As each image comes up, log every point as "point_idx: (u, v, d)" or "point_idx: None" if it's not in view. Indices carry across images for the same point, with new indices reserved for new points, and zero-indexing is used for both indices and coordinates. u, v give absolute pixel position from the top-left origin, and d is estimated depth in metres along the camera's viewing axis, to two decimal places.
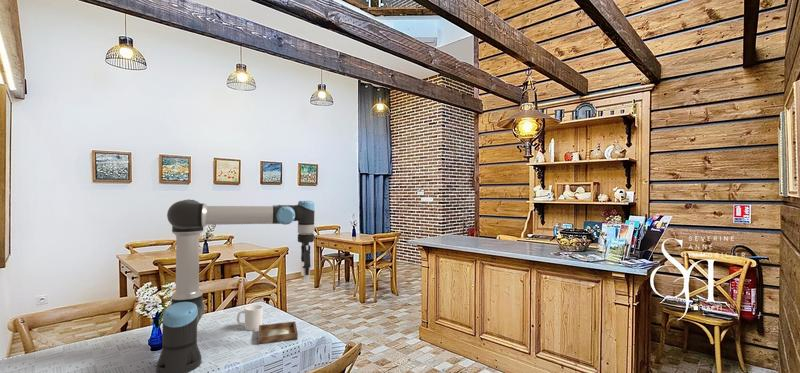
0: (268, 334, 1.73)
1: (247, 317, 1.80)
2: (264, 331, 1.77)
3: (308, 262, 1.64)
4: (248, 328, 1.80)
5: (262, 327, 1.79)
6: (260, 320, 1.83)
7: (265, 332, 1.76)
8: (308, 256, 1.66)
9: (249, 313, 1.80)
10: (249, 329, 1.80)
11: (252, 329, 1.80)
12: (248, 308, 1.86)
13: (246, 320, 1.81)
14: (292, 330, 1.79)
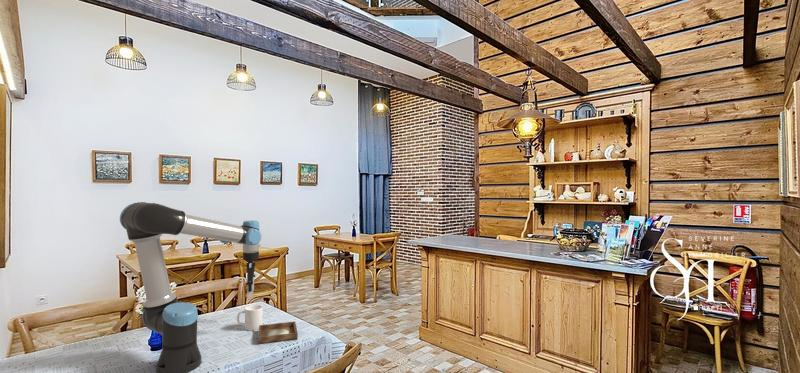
0: (268, 334, 1.73)
1: (247, 317, 1.80)
2: (264, 331, 1.77)
3: (250, 279, 1.75)
4: (248, 328, 1.80)
5: (262, 327, 1.79)
6: (260, 320, 1.83)
7: (265, 332, 1.76)
8: (251, 274, 1.76)
9: (249, 313, 1.80)
10: (249, 329, 1.80)
11: (252, 329, 1.80)
12: (248, 308, 1.86)
13: (246, 320, 1.81)
14: (292, 330, 1.79)
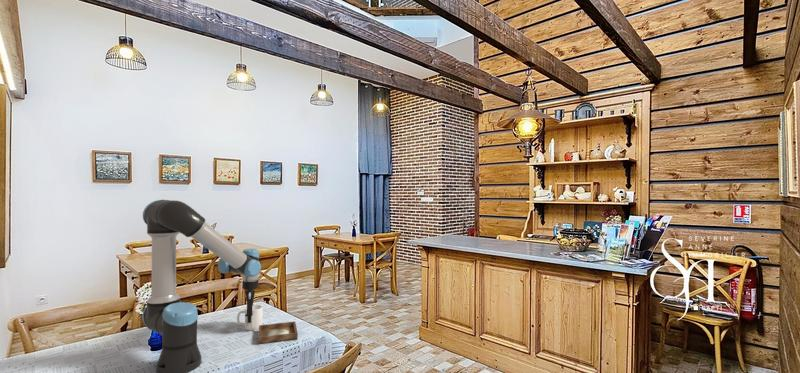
0: (268, 334, 1.73)
1: None
2: (264, 331, 1.77)
3: (250, 311, 1.77)
4: None
5: (262, 327, 1.79)
6: (260, 320, 1.83)
7: (265, 332, 1.76)
8: (250, 305, 1.77)
9: None
10: (249, 329, 1.80)
11: (252, 329, 1.80)
12: None
13: (246, 320, 1.81)
14: (292, 330, 1.79)
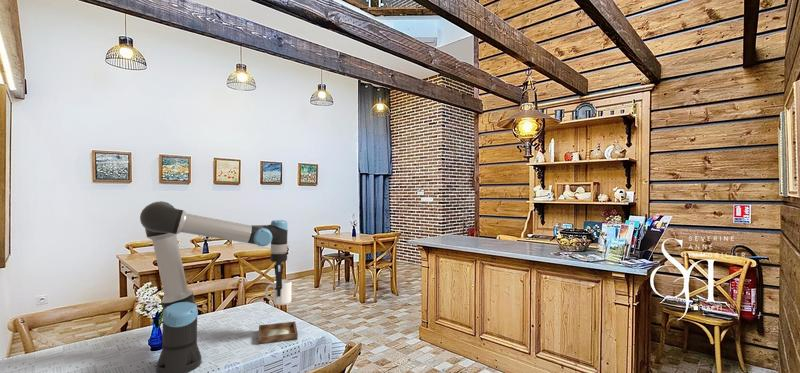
0: (268, 334, 1.73)
1: None
2: (264, 331, 1.77)
3: (280, 284, 1.68)
4: None
5: (262, 327, 1.79)
6: (289, 294, 1.74)
7: (265, 332, 1.76)
8: (280, 278, 1.69)
9: None
10: (278, 303, 1.72)
11: (281, 303, 1.72)
12: None
13: (275, 294, 1.72)
14: (292, 330, 1.79)
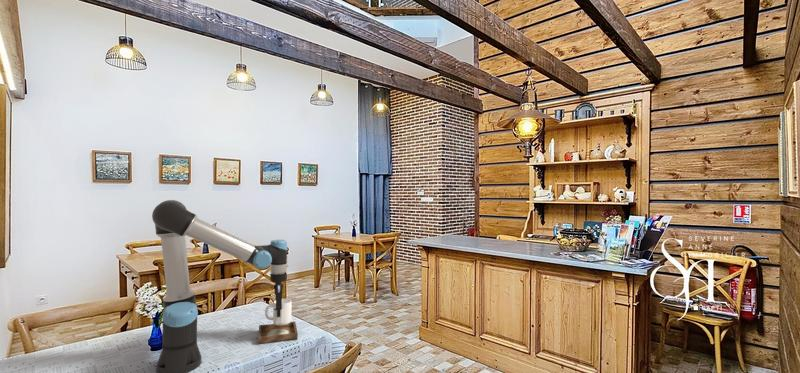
0: (268, 334, 1.73)
1: None
2: (264, 331, 1.77)
3: (279, 305, 1.68)
4: None
5: (262, 327, 1.79)
6: (289, 314, 1.74)
7: (265, 332, 1.76)
8: (280, 299, 1.69)
9: None
10: (278, 324, 1.72)
11: (281, 324, 1.72)
12: None
13: (275, 314, 1.72)
14: (292, 330, 1.79)
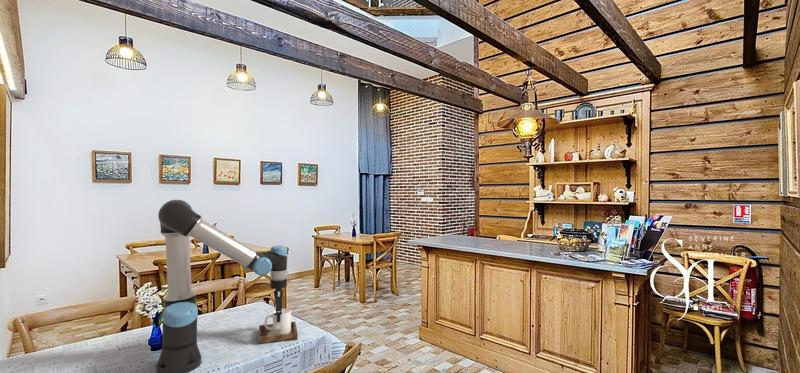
0: (268, 334, 1.73)
1: None
2: (264, 331, 1.77)
3: (279, 309, 1.66)
4: (277, 333, 1.71)
5: (262, 327, 1.79)
6: (289, 324, 1.74)
7: (265, 332, 1.76)
8: (279, 303, 1.67)
9: None
10: (278, 334, 1.71)
11: None
12: (275, 312, 1.77)
13: (274, 325, 1.72)
14: (292, 330, 1.79)
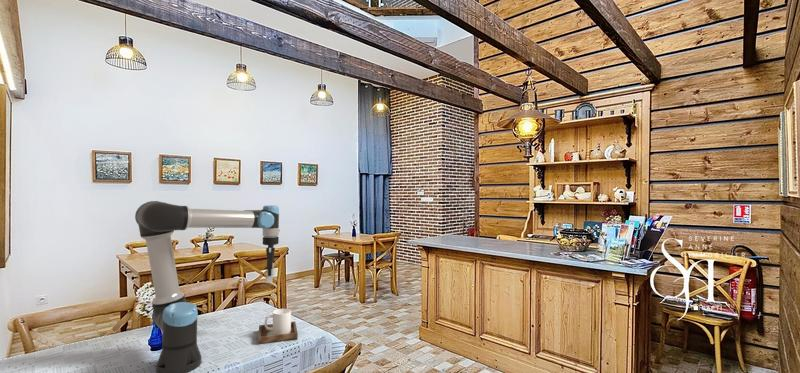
0: (268, 334, 1.73)
1: (276, 321, 1.72)
2: (264, 331, 1.77)
3: (270, 264, 1.74)
4: (277, 333, 1.71)
5: (262, 327, 1.79)
6: (289, 324, 1.74)
7: (265, 332, 1.76)
8: (270, 258, 1.75)
9: (277, 317, 1.71)
10: (278, 334, 1.71)
11: None
12: (276, 312, 1.77)
13: (274, 325, 1.72)
14: (292, 330, 1.79)
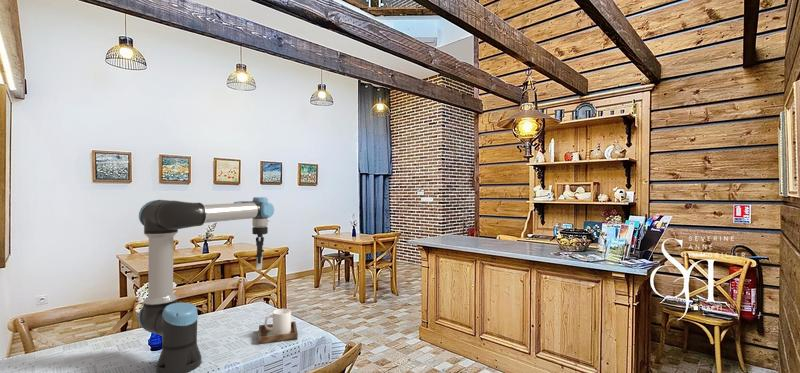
0: (268, 334, 1.73)
1: (276, 321, 1.72)
2: (264, 331, 1.77)
3: (260, 252, 1.84)
4: (277, 333, 1.71)
5: (262, 327, 1.79)
6: (289, 324, 1.74)
7: (265, 332, 1.76)
8: (260, 246, 1.85)
9: (277, 317, 1.71)
10: (278, 334, 1.71)
11: None
12: (276, 312, 1.77)
13: (274, 325, 1.72)
14: (292, 330, 1.79)
